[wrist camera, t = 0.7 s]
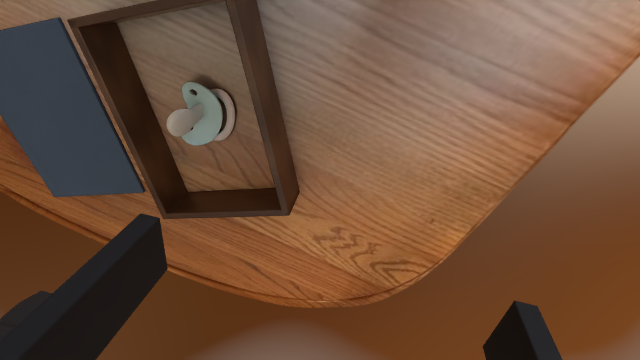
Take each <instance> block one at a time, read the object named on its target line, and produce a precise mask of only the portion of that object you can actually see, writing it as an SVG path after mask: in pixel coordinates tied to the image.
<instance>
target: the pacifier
mask: <svg viewBox="0 0 640 360" xmlns="http://www.w3.org/2000/svg"><path fill="white" fill-rule="evenodd" d="M191 89H194V90H195V91H196V92H197V95H194V94H193V93H192V92H191ZM182 94H183V97H184V100H185V102H186V104H187V105H188V107H187V109H178V110H176V111H174V112H173V113H171V114H170V116H169V117H168V120H167V129H168V131H169V132H170V133H171V134H172V135H173V136H176V137H180V136H181V137H182V138H183V140H185V141H186V142H187V143H189V144H191V145H204V144H207V143H208V142H210V141H211V140H214V141H222V140H224V139H225V138H227V137H228V136H229V135H230V133H231V131H232V129H233V126H234V123H235V108H234V105H233V102H232V100H231V98H230V96H229V95H228V94H227V93H226V92H225V91H223V90H221V89H211V90H209V89H208V88H206V87H205V86H203V85H201V84H199V83H196V82H187V83H185V84H184V85H183V86H182ZM217 97H218V98H220V99H221V100H222V101H223V102H224V104H225V106H226V110H227V122H226V126H225V128H224V130H223V131H222V132H220V133H218V132H219V130H220V128H221V125H222V120H223V112H222V107H221V104H220V102H219V100H218V99H217ZM192 127H194V128H193V130H191V128H192Z"/></svg>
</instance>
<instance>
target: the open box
mask: <svg viewBox="0 0 640 360" xmlns="http://www.w3.org/2000/svg"><path fill="white" fill-rule="evenodd" d="M222 1H226V3H227V7H228V11H229V15H230V18H231V22H232V26H233V30H234V33H235V37H236V41H237V45H238V48H239V52H240V56H241V60H242V63H243V67H244V71H245V75H246V78H247V82H248V86H249V90H250V93H251V97H252V101H253V105H254V109H255V112H256V116H257V120H258V124H259V127H260V131H261V135H262V139H263V142H264V146H265V150H266V154H267V157H268V161H269V165H270V169H271V172H272V176H273V180H274V184H275V188H268V189H248V190H227V191H207V192H187V191H186V188H185V186H184V183H183V181H182V179H181V176H180V174H179V172H178V169H177V167H176V164H175V162H174V160H173V157H172V155H171V152H170V150H169V148H168V145H167V143H166V141H165V138H164V136H163V133H162V131H161V129H160V126H159V124H158V122H157V119H156V117H155V114H154V112H153V110H152V107H151V105H150V103H149V100H148V98H147V95H146V93H145V91H144V88H143V86H142V84H141V81H140V79H139V76H138V74H137V72H136V69H135V67H134V65H133V62H132V60H131V57H130V55H129V53H128V50H127V48H126V46H125V43H124V41H123V38H122V36H121V34H120V31H119V29H118V26H117V24H116V23H118V22H123V21H128V20H133V19H138V18H143V17H148V16H153V15H158V14H163V13H168V12H173V11H177V10H182V9H187V8H192V7H197V6H202V5H207V4H212V3H217V2H222ZM67 21H68V23H69V25H70V27H71V29H72V32H73V34H74V36H75V38H76V40H77V42H78V44H79V46H80V48H81V50H82V52H83V54H84V56H85V58H86V60H87V62H88V65H89V67H90V69H91V71H92V73H93V75H94V77H95V79H96V81H97V83H98V85H99V87H100V89H101V91H102V93H103V96H104V98H105V100H106V102H107V104H108V106H109V108H110V110H111V112H112V114H113V116H114V118H115V120H116V122H117V124H118V126H119V129H120V131H121V133H122V135H123V137H124V139H125V141H126V143H127V145H128V147H129V149H130V151H131V153H132V155H133V157H134V160H135V162H136V164H137V166H138V168H139V170H140V172H141V174H142V176H143V178H144V180H145V182H146V184H147V186H148V188H149V190H150V193H151V195H152V197H153V199H154V201H155V203H156V205H157V207H158V209H159V211H160V213H161V215H162V217H163V219H180V218H216V217H253V216H289V215H290V213H291V211H292V208H293V206H294V204H295V201H296V199H297V197H298V195H299V187H298V183H297V178H296V174H295V170H294V165H293V161H292V156H291V152H290V148H289V143H288V139H287V134H286V130H285V125H284V121H283V117H282V112H281V108H280V103H279V99H278V94H277V90H276V86H275V81H274V77H273V72H272V68H271V64H270V59H269V55H268V50H267V46H266V41H265V37H264V33H263V28H262V24H261V19H260V15H259V11H258V6H257V2H256V0H156V1H152V2H147V3H142V4H138V5H133V6H128V7H124V8H119V9H114V10H110V11H105V12H100V13H96V14H91V15H86V16H82V17H77V18H72V19H68V20H67Z"/></svg>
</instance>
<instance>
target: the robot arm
mask: <svg viewBox="0 0 640 360" xmlns="http://www.w3.org/2000/svg"><path fill="white" fill-rule="evenodd" d="M167 269H168V268H167V262H166V256H165V249H164V243H163V237H162V231H161V224H160V218H157V217H153V216H149V215H145V214H140V215H139V216H138V217H136V218H135V219H134V220H133V221H132V222H131V223H130V224H129V225H128V226H126V227H125V228H124V229H123V230H122V231H121V232H120V233H119V234H118V235H117V236H115V237H114V238H113V239H112V240H111V241H110V242H109V243H108V244H107V245H106V246H105V247H104V248H102V249H101V250H100V251H99V252H98V253H97V254H96V255H94V256H93V257H92V258H91V259H90V260H89V261H88V262H87V263H86V264H85V265H83V266H82V267H81V268H80V269H79V270H78V271H77V272H76V273H75V274H74V275H72V276H71V277H70V278H69V279H68V280H67V281H66V282H65V283H64V284H63V285H61V286H60V287H59V288H58V289H57V290H56V291H55V292H54V293H53V294H52V293H48V292H44V291H40V292H38V293H36V294H34V295H32V296H31V297H29V298H27V299H25V300H23V301H21V302H20V303H18V304H17V305H16V306H15V307H14V308H12V309H11V310H10V311H9V312H8V313H6V314H5V315H4V316H3V317H2V318H1V319H0V360H96V359H97V357H98V356H99V355H100V354H101V352H102V351H103V350H104V348H105V347H106V346H107V345H108V344H109V342H110V341H111V340H112V338H113V337H114V336H115V335H116V333H117V332H118V331H119V330H120V328H121V327H122V326H123V324H124V323H125V322H126V321H127V319H128V318H129V317H130V316H131V314H132V313H133V312H134V311H135V309H136V308H137V307H138V305H139V304H140V303H141V302H142V301H143V299H144V298H145V297H146V295H147V294H148V293H149V292H150V290H151V289H152V288H153V287H154V285H155V284H156V283H157V282H158V280H159V279H160V278H161V276H162V275H163V274H164V273H165V271H166V270H167ZM483 349H484V353H485V357H486V360H562V358H561V356H560V354H559V352H558V349H557V347H556V345H555V343H554V341H553V339H552V336H551V334H550V332H549V330H548V328H547V326H546V324H545V321H544V319H543V317H542V315H541V313H540V311H539V309H538V306H535V305H531V304H526V303H522V302H518V301H514V302H513V304H512V305H511V306H510V308H509V310H508V311H507V312H506V314H505V315H504V317H503V318H502V319H501V321H500V322H499V324H498V325H497V327H496V328H495V330H494V331H493V332H492V334H491V336H490V337H489V338H488V340H487V341H486V343H485V344H484V346H483Z"/></svg>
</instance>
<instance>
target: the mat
mask: <svg viewBox="0 0 640 360" xmlns="http://www.w3.org/2000/svg"><path fill="white" fill-rule="evenodd" d="M0 115H1V117H2V118H3V120H4V121H5V123H6V124H7V126H8V127H9V129H10V130H11V132H12V133H13V135H14V136H15V138H16V139H17V141H18V143H19V144H20V146H21V147H22V149H23V150H24V152H25V153H26V155H27V156H28V158H29V159H30V161H31V162H32V164H33V165H34V167H35V168H36V170H37V172H38V173H39V175H40V176H41V178H42V179H43V181H44V182H45V184H46V185H47V187H48V188H49V190H50V191H51V193H52V194H53V196H54V197H65V196H85V195H104V194H124V193H144V192H145V189H144V187H143V185H142V183H141V181H140V179H139V177H138V175H137V173H136V171H135V169H134V167H133V165H132V163H131V161H130V159H129V157H128V155H127V153H126V151H125V149H124V147H123V145H122V143H121V141H120V138H119V136H118V134H117V132H116V130H115V128H114V126H113V124H112V122H111V120H110V118H109V116H108V114H107V112H106V110H105V108H104V106H103V104H102V102H101V100H100V98H99V96H98V94H97V92H96V90H95V88H94V86H93V84H92V82H91V80H90V78H89V75H88V73H87V71H86V69H85V67H84V65H83V63H82V61H81V59H80V57H79V55H78V53H77V51H76V49H75V47H74V45H73V43H72V41H71V39H70V37H69V35H68V33H67V31H66V29H65V27H64V25H63V23H62V21H61V19H60V18H55V19H50V20H45V21H41V22H36V23H32V24H27V25H22V26H18V27H13V28H9V29H4V30H0Z"/></svg>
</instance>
